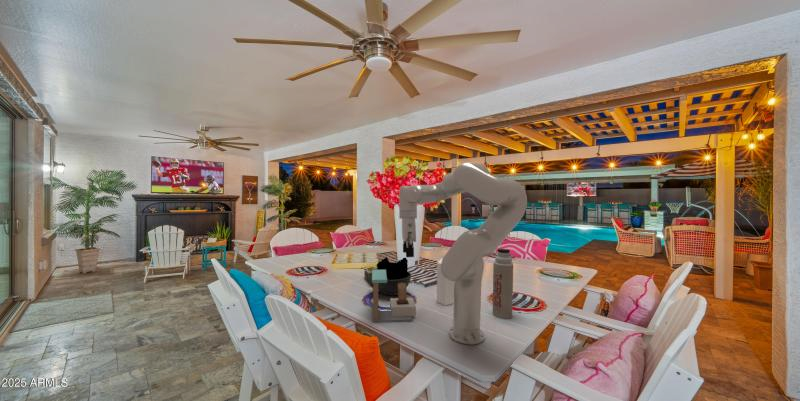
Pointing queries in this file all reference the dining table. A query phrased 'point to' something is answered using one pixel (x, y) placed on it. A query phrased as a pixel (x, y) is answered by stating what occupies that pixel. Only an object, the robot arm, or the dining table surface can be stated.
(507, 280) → the thermos bottle
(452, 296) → the milk
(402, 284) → the peg
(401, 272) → the coal bowl
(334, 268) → the dining table surface
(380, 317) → the socket station
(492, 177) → the robot arm
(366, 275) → the juice carton
